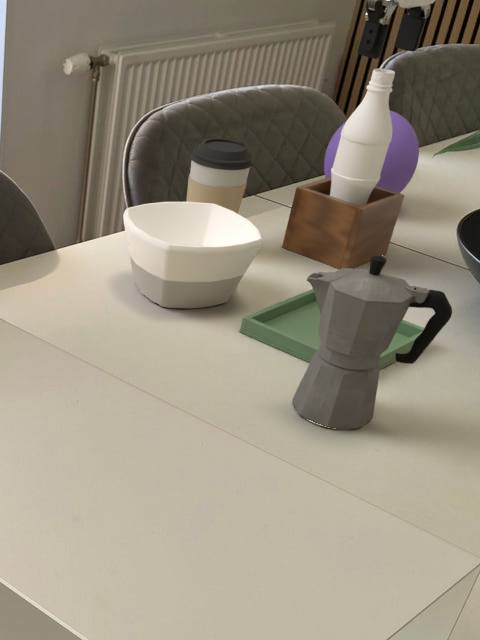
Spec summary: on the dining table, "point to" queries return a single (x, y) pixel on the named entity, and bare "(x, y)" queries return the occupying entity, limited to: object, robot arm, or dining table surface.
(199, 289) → the bowl
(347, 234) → the wooden box
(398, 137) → the decorative ball
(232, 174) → the coffee cup
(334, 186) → the water bottle
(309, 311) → the tray
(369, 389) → the coffeepot
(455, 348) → the dining table surface
